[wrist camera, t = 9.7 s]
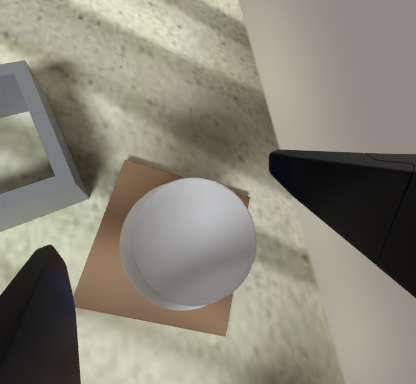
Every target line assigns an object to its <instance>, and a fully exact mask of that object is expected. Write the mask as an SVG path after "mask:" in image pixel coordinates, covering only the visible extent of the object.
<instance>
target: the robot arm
mask: <svg viewBox="0 0 416 384" xmlns="http://www.w3.org/2000/svg"><path fill="white" fill-rule="evenodd" d="M269 171H270V173H271V175H272V176H273V177H274V178H275V179H276V180H277V181H278V182H279V183H280V184H281V185H282V186H283V187H284V188H285V189H286V190H287V191H288V192H289V193H290V194H291V195H292V196H293V197H295V198H296V199H297V200H298V201H299V202H301V203H302V204H303V205H304V206H305V207H307V208H308V209H309V210H310V211H311V212H313V213H314V214H315V215H316V216H317V217H319V218H320V219H321V220H322V221H324V222H325V223H326V224H327V225H328V226H330V227H331V228H332V229H333V230H334V231H336V232H337V233H338V234H339V235H341V236H342V237H343V238H344V239H345V240H347V241H348V242H349V243H350V244H351V245H352V246H354V247H355V248H356V249H357V250H359V251H360V252H361V253H362V254H363V255H365V256H366V257H367V258H368V259H369V260H371V261H372V262H373V263H374V264H377V266H378V267H379V268H380V269H381V270H382V271H384V272H385V273H386V274H387V275H389V276H390V277H391V278H392V279H393V280H395V281H396V282H397V283H398V284H399V285H401V286H402V287H403V288H404V289H405V290H407V291H408V292H409V293H410V294H411V295H413V296H414V297H415V298H416V154H377V153H376V154H375V153H365V154H364V153H350V152H324V151H299V150H276V151H273V152H271V153H270V155H269ZM0 384H81V381H80V367H79V353H78V339H77V325H76V312H75V304H74V299H73V294H72V290H71V285H70V281H69V276H68V271H67V267H66V264H65V262H64V260H63V259H62V258H61V256H60V255H59V254H58V252H57V251H56V249H55V248H54V247H53V246H52V245H47V246H44V247H42V248H39V249H37V250H36V251H35V252H34V253H33V255H32V256H31V257H30V258H29V260H28V261H27V262H26V263H25V265H24V266H23V267H22V268H21V270H20V271H19V272H18V274H17V275H16V276H15V277H14V279H13V280H12V281H11V282H10V284H9V285H8V286H7V288H6V289H5V290H4V291H3V293H2V294H1V295H0Z"/></svg>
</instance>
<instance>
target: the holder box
mask: <svg viewBox="0 0 416 384" xmlns="http://www.w3.org/2000/svg"><path fill="white" fill-rule="evenodd" d="M26 111H29V112H30V114H31V117H32V119H33V122H34V124H35V127H36V129H37V132H38V135H39V137H40V140H41V142H42V145H43V147H44V150H45V152H46V155H47V157H48V160H49V162H50V165H51V167H52V170H53V172H54V175H55V176H54V177H51V178H47V179H44V180H41V181H38V182H35V183H32V184H29V185H26V186H23V187H20V188H17V189H14V190H11V191H8V192H5V193H2V194H0V232H1V231H4V230H6V229H9V228H12V227H14V226H17V225H20V224H22V223H25V222H28V221H30V220H33V219H36V218H38V217H41V216H44V215H46V214H49V213H52V212H54V211H57V210H60V209H62V208H65V207H68V206H70V205H73V204H76V203H78V202H81V201H84V200H86V199H89V196H88V194H87V192H86V189H85V187H84V184H83V182H82V180H81V177H80V175H79V172H78V170H77V168H76V165H75V163H74V160H73V158H72V155H71V153H70V151H69V148H68V146H67V143H66V141H65V139H64V136H63V134H62V131H61V129H60V127H59V124H58V122H57V119H56V117H55V115H54V112H53V110H52V107H51V105H50V103H49V100H48V98H47V96H46V94H45V93H44V91H43V89H42V88H41V86H40V84H39V83H38V81H37V80H36V78H35V76H34V75H33V73H32V71H31V70H30V68H29V66H28V65H27V63H26V62H25V60H24V61H18V62H12V63H6V64H1V65H0V118H1V117H5V116H9V115H14V114H18V113H22V112H26Z"/></svg>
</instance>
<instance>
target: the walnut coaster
mask: <svg viewBox="0 0 416 384" xmlns="http://www.w3.org/2000/svg"><path fill="white" fill-rule="evenodd" d="M179 179H184V177H181V176H177V175H174V174H171V173H167V172H164V171H161V170H157V169H154V168H151V167H148V166H144V165H141V164H138V163H134V162H131V161H128V160H125V161H124V163H123V166H122V169H121V171H120V174H119V177H118V179H117V182H116V184H115V187H114V190H113V192H112V195H111V198H110V200H109V203H108V206H107V208H106V211H105V214H104V216H103V219H102V222H101V224H100V227H99V230H98V232H97V235H96V238H95V240H94V243H93V246H92V248H91V251H90V254H89V256H88V259H87V261H86V264H85V267H84V269H83V272H82V275H81V277H80V280H79V283H78V285H77V288H76V291H75V293H74V296H73V299H74V304H75V307H76V308H81V309H86V310H92V311H97V312H102V313H107V314H112V315H117V316H122V317H128V318H133V319H138V320H143V321H148V322H153V323H159V324H164V325H169V326H174V327H179V328H184V329H189V330H195V331H200V332H205V333H210V334H215V335H220V336H226V331H227V325H228V319H229V314H230V308H231V302H232V297H233V292H232V293H231V294H230V295H229V296H227V297H225V298H224V299H222V300H220V301H217V302H215V303H212V304H208V305H206V306H204V307H201V308H197V309H193V310H183V311H179V310H170V309H166V308H162V307H160V306H157V305H155V304H153V303H151V302H150V301H148V300H147V299H145V298H144V297H143V296H141V295H140V294H139V293H138V292H137V291H136V289H135V288H134V287H133V286H132V285H131V283H130V282H129V280H128V278H127V276H126V274H125V272H124V270H123V267H122V263H121V258H120V249H119V243H120V235H121V230H122V227H123V224H124V221H125V219H126V217H127V215H128V213H129V212H130V210H131V209H132V207H133V206H134V205H135V204H136V202H137V201H138V200H139V199H141V198H142V197H143V196H144V195H145V194H147V193H148V192H149V191H151V190H153V189H154V188H156V187H158V186H161V185H163V184H167V183H170V182H173V181H175V180H179ZM235 194H236V195H237V196H238V197H239V198H240V199H241V200H242V202H243V203H244V205H245V206H246V207H247V209H248V205H249V199H250V197H247V196H244V195H240V194H237V193H235Z"/></svg>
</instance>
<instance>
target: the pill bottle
mask: <svg viewBox="0 0 416 384" xmlns="http://www.w3.org/2000/svg"><path fill="white" fill-rule="evenodd" d="M119 249H120V258H121V263H122V267H123V270H124V272H125V274H126V276H127V278H128V280H129V282H130V283H131V285H132V286H133V287H134V288H135V289H136V291H137V292H138V293H139V294H140V295H141V296H143V297H144V298H145V299H147V300H148V301H150V302H151V303H153V304H155V305H157V306H160V307H162V308H166V309H170V310H179V311H183V310H193V309H197V308H201V307H204V306H206V305H208V304H212V303H215V302H217V301H220V300H222V299H224V298H225V297H227V296H229V295H230V294H231V293H232V292H234V291H235V290H236V289H237V288H238V287H239V286H240V285H241V284H242V282H243V281H244V280H245V278H246V277H247V275H248V273H249V271H250V269H251V266H252V264H253V261H254V257H255V252H256V232H255V227H254V223H253V220H252V218H251V215H250V213H249V211H248V209H247V207H246V206H245V205H244V203H243V202H242V200H241V199H240V198H239V197H238V196H237V195H236V194H235V193H234V192H233V191H231V190H230V189H229V188H227V187H226V186H224V185H222V184H220V183H218V182H216V181H213V180H209V179H204V178H184V179H179V180H175V181H173V182H170V183H167V184H163V185H161V186H158V187H156V188H154V189H153V190H151V191H149V192H148V193H147V194H145V195H144V196H143V197H142V198H141V199H139V200H138V201H137V202H136V204H135V205H134V206H133V207H132V209H131V210H130V212H129V213H128V215H127V217H126V219H125V221H124V224H123V227H122V230H121V235H120V243H119Z"/></svg>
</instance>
